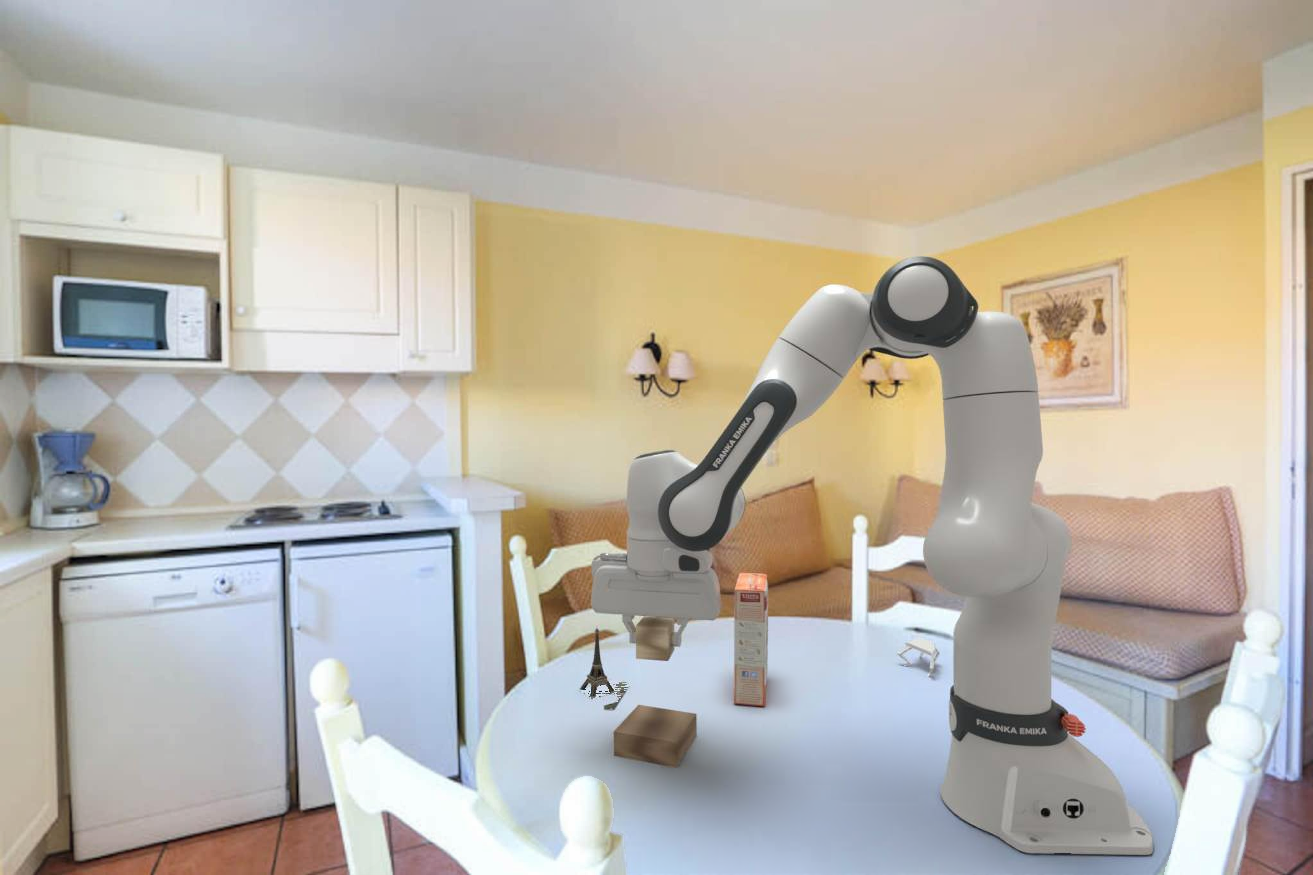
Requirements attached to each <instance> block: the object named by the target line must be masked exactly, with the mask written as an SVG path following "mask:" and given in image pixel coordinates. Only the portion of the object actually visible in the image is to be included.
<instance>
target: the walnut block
mask: <svg viewBox="0 0 1313 875" xmlns="http://www.w3.org/2000/svg"><path fill="white" fill-rule="evenodd" d="M697 715H698V714H697V713H694V712H690V711H689V712H687V711H682V710H674V709H668V708H661V707H656V706H655V707H654V706H650V705H644V704H638V705H637V706H636V707H635V708H634V709H633V710H632V711H631V712H630V713H629V714H628V715H627V716H626V717H625V718H624V720H622V722H620V724H619V725H617V727H616V728H615V730H613V756H614V757H618V758H621V759H622V758H623V759H629V760H634V761H639V762H643V763H644V762H646V763H648V764H649V763H650V764H655V765H660V766H666V767H669V768H670V767H671V768H676V769H677V768H678V767H679V766H680V764H681V762H682V760H683V759H684V758H685V756H686V754H687V753H688V751H689V749H690V748H691V746H692V744H693V743H694V741H695V740H696V738H697V737H698V736H697V735H698V734H697V728H698V726H697V720H698V719H697Z"/></svg>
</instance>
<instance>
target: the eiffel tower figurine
mask: <svg viewBox="0 0 1313 875" xmlns="http://www.w3.org/2000/svg"><path fill="white" fill-rule="evenodd" d="M594 632H595V638H594V639H595V641H594V652H593V653H594V654H593V660H592V661H593V662H592V663H591V669H590V672H589V674H587V675H586V676H587V677H586V680H584V682H583V683H582V685H581V687H580V688H579V689H580V690H586V689H585V688H586V687H588V685H589V684H590V686H591V694H590V696H589V697H591V699H590V700H594V699H593V698H595V697H596V694H601V693H596V690H597V687H598V686H599V685H600V686H601V685H606V686H607V687H608V689H609V692H610V693H602V694H609V695H614V694H615V693H614V692H617V693H616V694H617V695H621V696H617V697H621V698H619V699H618V700H617V701H618V702H616V701H614V702H612V703H608V704H604V705H603V710H606V711H608V710H609V711H615V709H617V706H618V705H619V704H620V702H621V700H622V699H623V697H624V696H625V694H626V693H627V691H628V689H629V688H630V686H629V687H621V686H625V685H627V684H622V683H627V682H626V681H625V682H619V684H616V686H618V687H615V688H621V689H619V690H620V691H614V689H613V688H612V686H611V685H610V683H609V679H608V676H607V675H606V674H605V672H604V668H603V663H602V660H601V652H600V648H601V647H600V639H599V638H600V637H599V634H600V630H599V629H598V627H596V628H595V629H594ZM613 685H615V684H613ZM624 688H628V689H624ZM615 690H618V689H615ZM624 690H627V691H624ZM589 692H590V691H589ZM599 692H602V691H599ZM605 692H608V691H605ZM612 693H614V694H612ZM588 694H589V693H588ZM589 697H588V698H589ZM617 697H616V698H617ZM599 698H601V696H599ZM595 699H596V698H595Z"/></svg>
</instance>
